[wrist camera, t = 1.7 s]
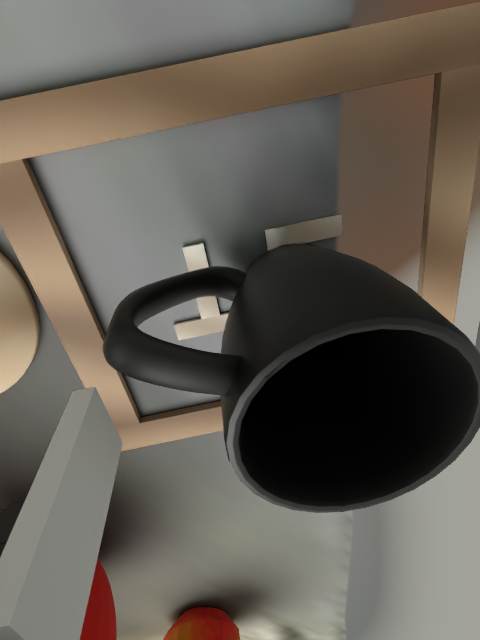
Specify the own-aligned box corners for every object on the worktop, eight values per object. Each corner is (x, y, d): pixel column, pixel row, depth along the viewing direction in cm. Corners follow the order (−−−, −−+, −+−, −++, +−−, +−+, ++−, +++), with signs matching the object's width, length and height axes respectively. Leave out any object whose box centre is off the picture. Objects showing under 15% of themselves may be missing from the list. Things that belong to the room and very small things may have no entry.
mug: (175, 145, 15) (153, 197, 7) (399, 255, 19) (552, 371, 11) (116, 307, 19) (58, 465, 11) (315, 374, 23) (384, 530, 14)
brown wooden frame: (-50, 112, 14) (-58, 112, 14) (491, -1, 14) (500, -4, 14) (119, 445, 24) (118, 451, 24) (440, 379, 24) (445, 384, 24)
